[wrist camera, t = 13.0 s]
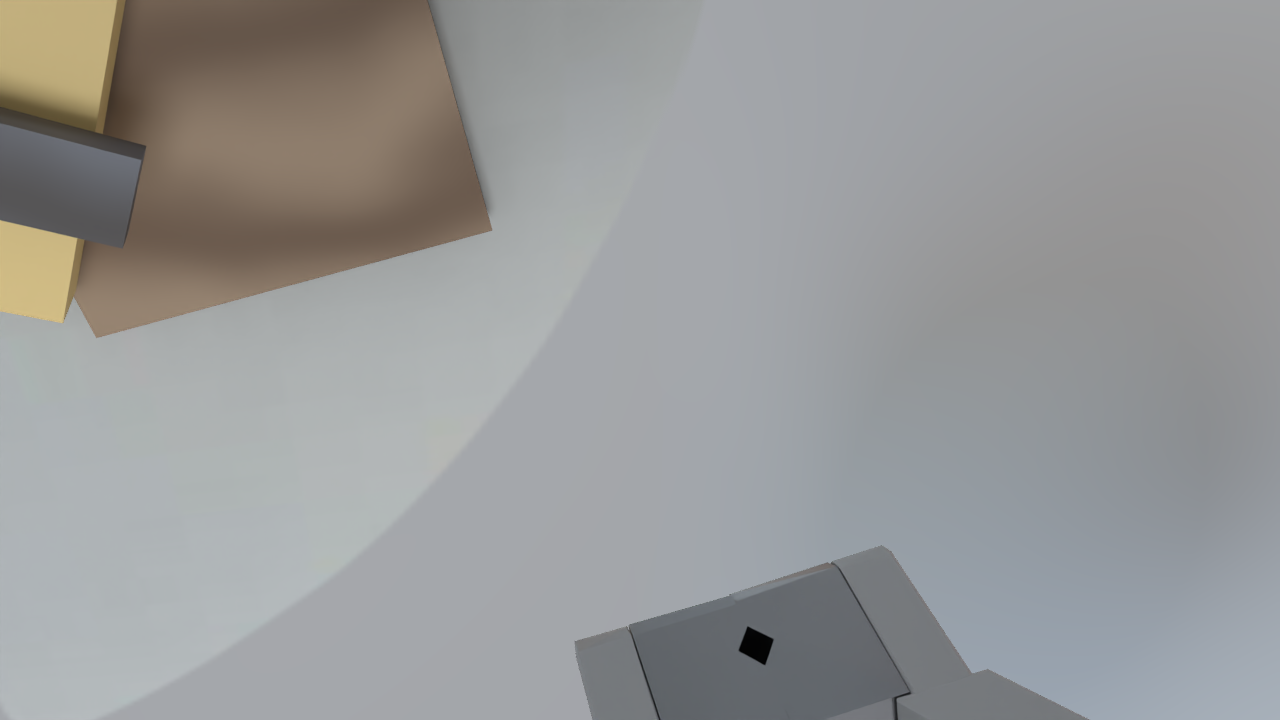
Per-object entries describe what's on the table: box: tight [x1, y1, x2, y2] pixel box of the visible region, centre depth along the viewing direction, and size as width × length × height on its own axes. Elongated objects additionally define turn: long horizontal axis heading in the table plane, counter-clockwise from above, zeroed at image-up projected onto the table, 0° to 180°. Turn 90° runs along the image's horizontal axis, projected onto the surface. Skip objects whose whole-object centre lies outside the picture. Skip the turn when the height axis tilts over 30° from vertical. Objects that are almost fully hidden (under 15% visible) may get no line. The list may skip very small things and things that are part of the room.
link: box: [0, 0, 126, 323], centre depth 34 cm, size 18×4×2 cm, turn 158°
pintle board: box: [0, 0, 492, 338], centre depth 34 cm, size 20×16×7 cm
